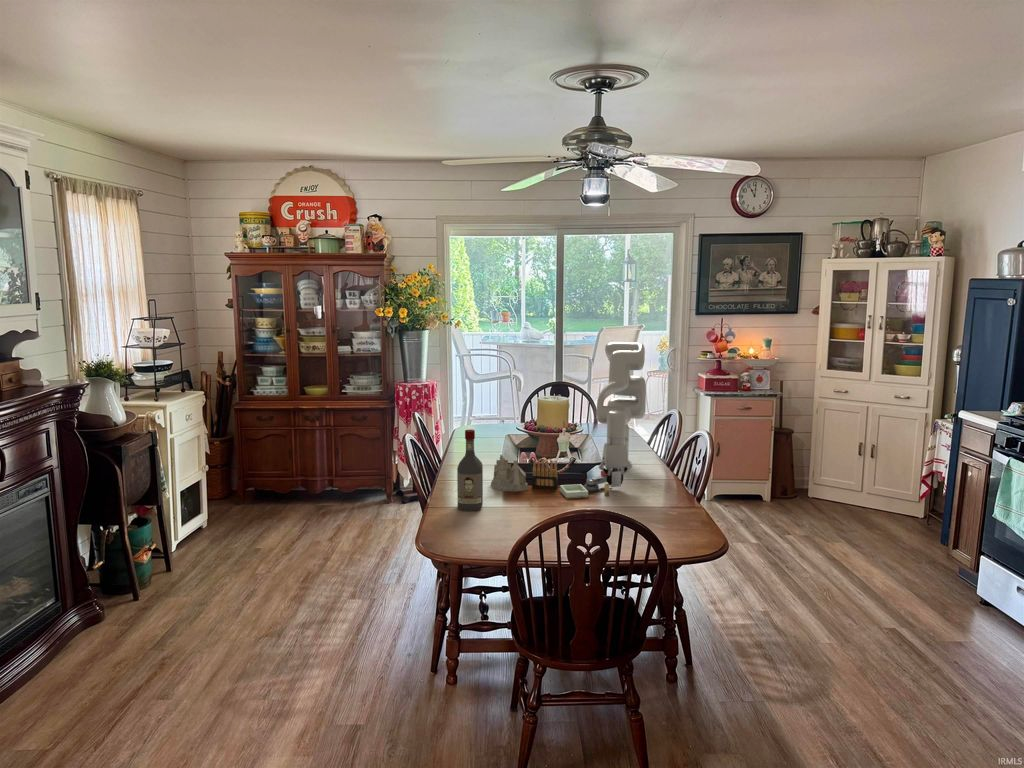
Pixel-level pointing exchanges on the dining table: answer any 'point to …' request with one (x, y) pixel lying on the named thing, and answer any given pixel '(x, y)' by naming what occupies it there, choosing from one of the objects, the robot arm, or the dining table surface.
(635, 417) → the robot arm
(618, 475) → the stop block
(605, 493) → the crank pedestal
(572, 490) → the tray
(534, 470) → the ammunition clip
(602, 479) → the crank
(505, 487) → the grey castle model
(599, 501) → the dining table surface
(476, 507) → the liquor
